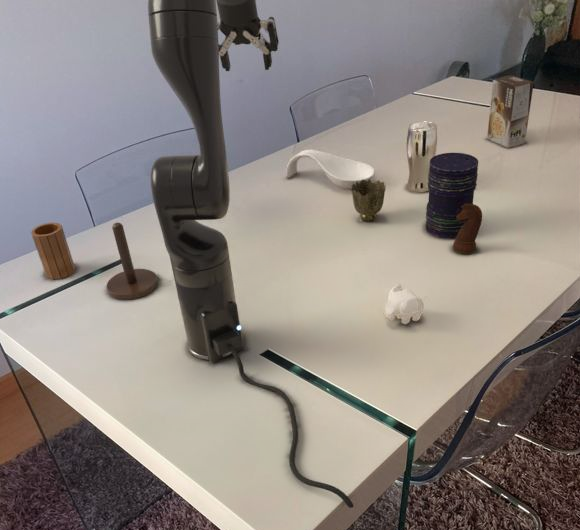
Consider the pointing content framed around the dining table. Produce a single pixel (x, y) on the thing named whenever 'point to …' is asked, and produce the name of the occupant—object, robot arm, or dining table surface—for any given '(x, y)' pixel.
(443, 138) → the dining table surface
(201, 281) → the robot arm
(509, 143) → the coffee box
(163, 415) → the dining table surface
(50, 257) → the wooden stave pot
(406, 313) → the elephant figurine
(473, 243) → the chess piece
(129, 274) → the peg stand
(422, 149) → the beer glass
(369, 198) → the cup
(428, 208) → the storage jar
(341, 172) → the spoon rest
